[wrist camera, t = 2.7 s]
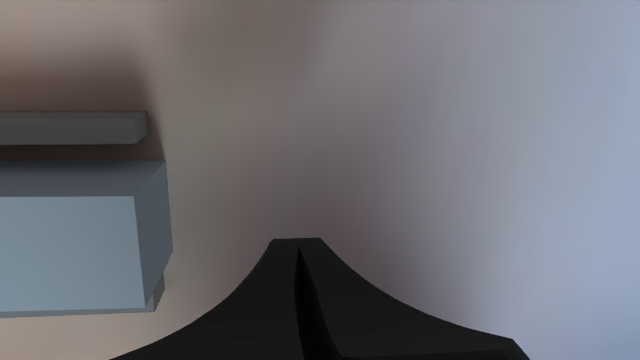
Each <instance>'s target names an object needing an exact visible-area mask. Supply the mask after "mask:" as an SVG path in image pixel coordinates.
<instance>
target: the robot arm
mask: <svg viewBox="0 0 640 360" xmlns="http://www.w3.org/2000/svg"><path fill="white" fill-rule="evenodd" d="M110 360H530V359H529V358H528V356H527V355H526V354H525V353H524V352H523V350H522V349H521V348H520V347H519V346H518V345H517V344H516V342H515V341H514V340H513V339H510V338H506V337H502V336H498V335H494V334H490V333H485V332H481V331H477V330H473V329H469V328H466V327H462V326H459V325H456V324H453V323H450V322H447V321H444V320H441V319H439V318H436V317H434V316H431V315H428V314H426V313H424V312H422V311H419V310H417V309H415V308H413V307H411V306H408V305H406V304H404V303H402V302H400V301H398V300H397V299H395V298H393V297H391V296H390V295H388V294H386V293H385V292H383V291H381V290H380V289H378V288H377V287H375V286H374V285H372V284H371V283H369V282H368V281H367V280H365V279H364V278H363V277H361V276H360V275H359V274H357V273H356V272H355V271H354V270H352V269H351V268H350V267H349V266H348V265H347V264H346V263H344V262H343V261H342V260H341V259H340V258H339V257H338V256H337V255H336V254H335V253H334V252H333V251H332V250H331V249H330V248H329V247H328V246H327V244H326V243H325V242H324V241H323V240H322V239H321V238H294V239H273V240H272V241H271V242H270V243H269V246H268V247H267V249H266V251H265V253H264V254H263V256H262V257H261V259H260V260H259V262H258V263H257V264H256V266H255V267H254V268H253V270H252V271H251V272H250V274H249V275H248V276H247V277H246V278H245V279H244V280H243V281H242V283H241V284H240V285H239V286H238V287H237V288H236V289H235V290H234V291H233V292H232V293H231V294H230V295H229V296H228V297H227V298H226V299H225V300H223V301H222V302H221V303H220V304H218V305H217V306H216V307H215V308H213V309H212V310H210V311H209V312H207V313H206V314H204V315H203V316H201V317H200V318H198V319H197V320H195V321H194V322H192V323H191V324H189V325H187V326H185V327H184V328H182V329H180V330H178V331H176V332H174V333H172V334H170V335H168V336H166V337H164V338H162V339H160V340H158V341H156V342H154V343H151V344H149V345H146V346H144V347H141V348H139V349H136V350H134V351H131V352H129V353H126V354H123V355H121V356H118V357H115V358H112V359H110Z"/></svg>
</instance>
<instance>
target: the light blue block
mask: <svg viewBox="0 0 640 360" xmlns="http://www.w3.org/2000/svg"><path fill="white" fill-rule="evenodd" d="M172 252H173V248H172V236H171V223H170V210H169V197H168V185H167V172H166V161H25V160H0V312H6V311H43V310H81V309H118V308H145V307H146V305H147V303H148V301H149V299H150V297H151V295H152V293H153V291H154V289H155V287H156V285H157V283H158V281H159V279H160V277H161V275H162V272H163V270H164V268H165V266H166V264H167V262H168V260H169V258H170V256H171V254H172Z"/></svg>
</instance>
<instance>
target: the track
mask: <svg viewBox="0 0 640 360" xmlns="http://www.w3.org/2000/svg"><path fill="white" fill-rule="evenodd" d="M147 135H148V127H147V117H146V112H0V145H66V144H136V143H137V142H139V141H140V140H141V139H143V138H144V137H145V136H147ZM164 290H165V289H164V280H163V272H162V275H161V277H160V279H159V281H158V283H157V285H156V287H155V289H154V291H153V293H152V295H151V297H150V299H149V301H148V303H147V305H146V307H145V308H118V309H81V310H43V311H6V312H0V318H14V317H39V316H63V315H88V314H113V313H137V312H155V310H156V308H157V305H158V303H159V301H160V299H161V296H162V294H163V292H164Z"/></svg>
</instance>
